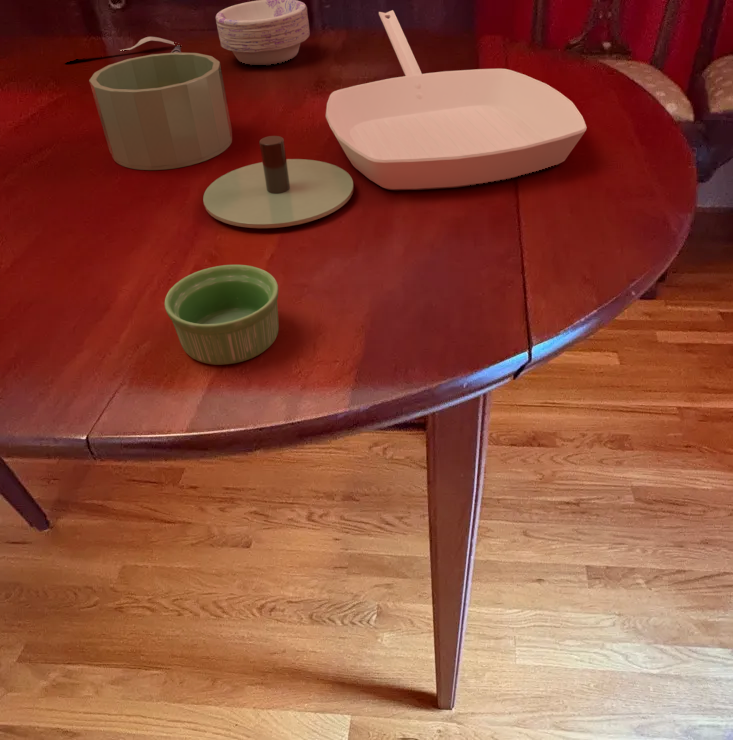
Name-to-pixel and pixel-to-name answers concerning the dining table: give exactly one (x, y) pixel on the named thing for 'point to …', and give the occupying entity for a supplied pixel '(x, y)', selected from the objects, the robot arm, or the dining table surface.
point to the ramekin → (225, 313)
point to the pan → (451, 124)
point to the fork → (150, 40)
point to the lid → (278, 190)
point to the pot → (163, 110)
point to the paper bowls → (263, 30)
